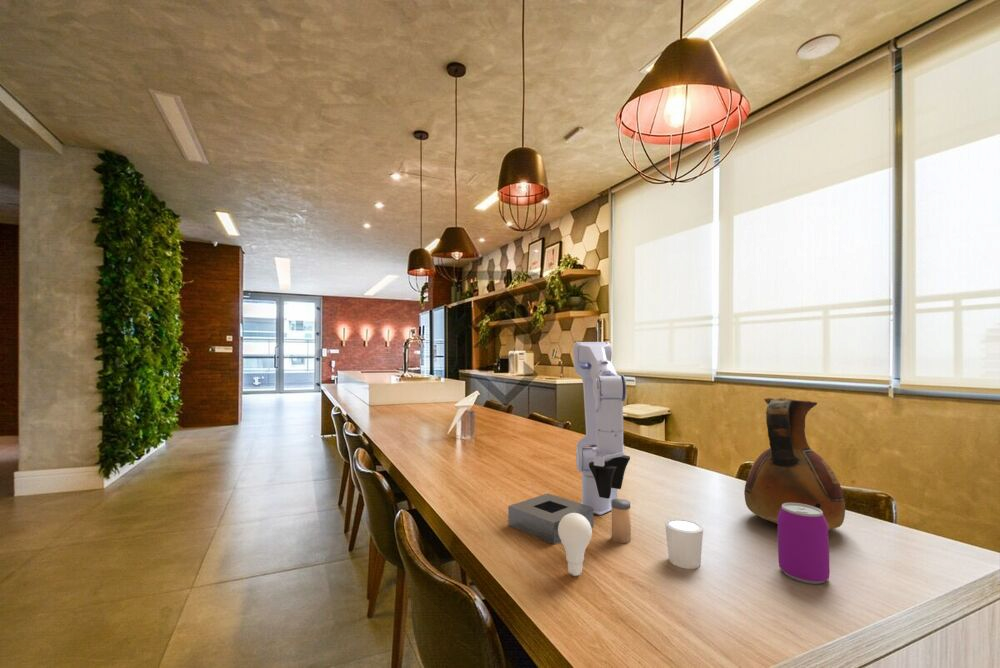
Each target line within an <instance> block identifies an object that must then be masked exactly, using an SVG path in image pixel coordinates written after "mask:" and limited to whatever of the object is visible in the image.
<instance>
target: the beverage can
mask: <svg viewBox="0 0 1000 668" xmlns="http://www.w3.org/2000/svg"><path fill="white" fill-rule="evenodd" d="M777 522H778V524H777V548H778V549H777V550H778V553H777V554H778V555H777V557H778V566H779V568H780V570H781V571H782V572H783V573H784V574H785V575H786V576H787V577H789V578H791V579H793V580H795V581H798V582H801V583H804V584H810V585H819V584H823V583H825V582H826V581H829V579H830V574H831V571H830V568H831V567H830V546H829V545H830V543H829V542H830V540H829V539H830V538H829V530H828V524H827V521H826V519H825V517H824V515H823V512H822V510H820V509H819V508H816V507H814V506H810V505H806V504H801V503H784V504H782V507H781V510H780V512H779V514H778V517H777Z"/></svg>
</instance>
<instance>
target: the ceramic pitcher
mask: <svg viewBox="0 0 1000 668" xmlns="http://www.w3.org/2000/svg"><path fill="white" fill-rule="evenodd" d="M764 402H765V403H766V404H767V408H766V411H765V414H766V416H765V417H766V418H765V419H766V420H765V421H766V422H765V423H766V428H767V436H768V440H769V448H767V449H765V450H764V451H763V452H761V454H759V456H758V457H757V458H756V459H755V460H754V463H753V464H752V466H751V467H750V469H749V472H748V475H747V478H746V481H745V484H744V493H743V494H744V495H743V496H744V501H745V505H746V507H747V509H748V510H749V511H750V512H751V513H752V514H754V515H756V516H757V517H759V518H761V519H763V520H766V521H768V522H772V523H773V524H777V525H778V522H777V517H778V514H779V512H780V510H781V507H782V504H784V503H801V504H806V505H810V506H814V507H816V508H819V509H820V510H822V512H823V515H824V517H825V519H826V521H827V524H828V531H831V530H834V529H837V528H840V527H841V526H842V525H843V523H844V521H845V517H846V502H845V496H844V493H843V490H842V489H843V488H842V487H841V484H840V482H839V479H838V477H837V476H836V474H835V472H834V471H833V469H832V468H831V467H830V465H829V464H828V463H827V462H826V460H824V459H823V457H822V456H821V455H820V454H818V453H817V452H815V451H814V450H813V449H812V448H811V447H810V446H809V443H808V440H807V438H806V437H807V436H806V432H805V431H806V417H807V414H808V413H809V412H810V410H812V409H813V408H814V407H815V406H817V405H818V402H816V401H811V400H802V399H792V398H786V397H779V398H770V397H769V398H764Z"/></svg>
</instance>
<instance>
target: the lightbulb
mask: <svg viewBox="0 0 1000 668" xmlns="http://www.w3.org/2000/svg"><path fill="white" fill-rule="evenodd" d="M558 534H559V537H560V539H561V543H562V545H563V549H564V550H565V558H566V561H567V571H568V573H569V574H570V575H572V576H574V577H577V576H579V575H581V574H582V573H583V563H584V561H585V560H584V559H585V552H586V550H587V547H588V545H589V543H590V542H591V539H592V535H593V529H592V528H591V525H590V523H589V521H588V520H587V519H586V518H585V517H584V516H583V515H581V514H579V513H569V514H567V515H565V516H564V517H563V518H562V519H561V521H560V523H559V526H558Z"/></svg>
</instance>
